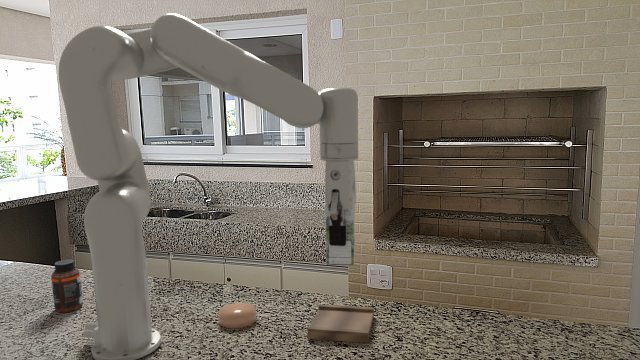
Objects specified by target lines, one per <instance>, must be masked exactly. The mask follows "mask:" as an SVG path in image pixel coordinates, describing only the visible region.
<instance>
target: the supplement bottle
mask: <svg viewBox="0 0 640 360" xmlns="http://www.w3.org/2000/svg"><path fill="white" fill-rule="evenodd" d="M50 279H51V288H52V289H51V290H52V296H53V304H54V305H53V306H54V310H55V311H56V312H57V313H69V312H70V313H71V312H73V311H76V310H78V309H80V308H82V306H83V305H84V302H83V292H82V284H81V282H82V281H81V273H80V270H79V269H78V268H76V267H75V261H74V260H73V259H62V260H59V261H56V262H55V263H54V271H53V272H52V273H51V275H50Z"/></svg>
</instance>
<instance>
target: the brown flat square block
mask: <svg viewBox="0 0 640 360" xmlns="http://www.w3.org/2000/svg"><path fill="white" fill-rule="evenodd" d="M374 309H375V308H374V307H370V306H368V307H367V306H365V307H364V306H352V305H337V304H335V305H334V304H319V305H318V309H317V311H316V314H315V316H314V318H313V319H312V321H311V324H310V326H308V327H307V339H310V340H321V341H335V342H346V343H348V342H349V343H358V344H359V343H360V344H361V343H362V344H368V343H369V340H370V335H371V330H372V327H373V323H374V317H375V316H374V315H375V314H374V313H375V312H374Z"/></svg>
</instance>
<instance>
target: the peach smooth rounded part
mask: <svg viewBox="0 0 640 360" xmlns="http://www.w3.org/2000/svg"><path fill="white" fill-rule="evenodd" d="M218 322H219V323H218V324H219V325H220V326H222V327H223V328H227V329H242V328H247V327H250V326H252V325H253V324H255V322H257V307H256V305H254V304H253V303H247V302H234V303H228V304H226V305H224V306H222V307H221V308H219V309H218Z"/></svg>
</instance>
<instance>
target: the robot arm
mask: <svg viewBox="0 0 640 360" xmlns="http://www.w3.org/2000/svg"><path fill="white" fill-rule="evenodd" d="M178 68H180V69H181V70H183V71H184V72H187V73H188V74H190V75H192V76H195V77H196V78H198V79H199V80H202V81H204V82H206V84H207V83H208V84H209V85H211V86H213V87H214V88H216V89H218V90H220V91H222V92H224V93H226V94H228V95H231V96H233V97H236V98H239V99H242V100H244V101H246V102H248V103H251V104H253V105H254V106H257V107H259V108H260V109H261V110H264V111H267V112H268V113H270V114H271V115H274V116H276V117H277V118H279V119H281V120H282V121H284V122H285V123H286V124H288V125H289V126H292V127H295V128H297V129H308V128H311V127H313V126H316V125H319V158H320V160H321V161H324V162H325V169H324V173H325V174H324V179H325V180H324V182H325V183H324V189H325V192H324V194H325V195H324V196H325V197H324V199H325V200H326V209H327V210H328V211H330V221H329V244H330V245H332V246H345V245H346V225H344V218H345V210H347V211H348V212H349V211H351V210H352V195H353V193H354V205H355V206H356V203H357V190H356V169H355V161H357V160H359V108H358V107H359V103H358V102H359V98H358V97H359V96H358V92H357V91H356V89H354V88H349V87H335V88H332V87H331V88H325V89H322V90H315V89H314V88H313V87H311V86H310V85H308V84H306V83H304V82H303V81H301V80H299V79H297V78H295V77H294V76H292V75H290V74H288V73H286V72H284V71H283V70H281V69H280V68H277V67H276V66H274V65H271V64H270V63H267V62H266V61H264V60H262V59H261V58H259V57H257V56H255V55H254V54H252V53H250V52H248V51H247V50H244V49H243V48H241V47H239V46H237V45H235V44H233V43H232V42H230V41H229V40H226V39H225V38H223V37H221V36H219V35H217V34H216V33H214V32H213V31H211V30H209V29H207V28H205V27H203V25H200V24H198V23H197V22H195V21H193V20H191V19H189V18H187V17H185V16H183V15H181V14H178V13H165V14H163V15H161V16H159V17H157V19H156V20H155V21H154V22H153V24H152V26H151V28H149V29H145V30H140V31H136V32H135V31H134V32H131V33H127V34H126V33H124V32H123V31H121V30H119V29H117V28H114V27H111V26H107V25H96V26H95V25H94V26H92V27H88V28H86V29H84V30H81V31H80V32H78V33H77V34H76V35H75V36H74V37H72V39H70V41H68V43H67V44H66V46H65V47H64V49H63V51H62V52H61V56H60V58H59V62H58V83H59V88H60V93H61V98H62V101H63V105H64V109H65V113H66V114H65V115H66V119H67V124H68V129H69V133H70V137H71V141H72V146H73V150H74V155H75V160H76V163H77V166H78V168H79V170H80V172H81V173H82V174H83V175H84V176H85V177H87V178H89V179H90V180H93V181H96V182H97V185H98V189H99V191H98V192H96V193H95V194H94V195H93V196H92V197H91V198H90V200H89V201H88V202H87V205H86V206H85V210H84V215H83V222H84V230H85V233H86V238H87V242H88V246H89V252H90V260H91V268H92V276H93V278H92V279H93V286H94V299H95V306H96V319H97V320H96V321H97V322H92V321H91V322H87V323H86V325H85V326H84V327H85V330H84V331H83V333H82V336H83V337H84V338H93V340H94V343H93V344H92V346H91V347H90V348H91V350H90V352H91V356H92V358H93V359H94V360H138V359H141V358H144V357H146V356H148V355H150V354H151V353H153V352H154V351H156V350H157V349H158V348H159V346H161V343H162V336H161V333H160V332H159V331H158V330H157V329H154V328H153V326H152V325H153V324H152V312H151V304H150V303H151V302H150V301H151V300H150V287H149V277H148V263H147V253H146V251H147V250H146V246H145V240H144V234H143V225H142V223H143V221H144V220H145V219H147V216H148V215H149V212H150V210H151V206H152V205H151V204H152V199H151V192H150V187H149V183H148V178H147V174H146V169H145V165H144V164H145V163H144V160H143V155H142V151H141V148H140V146H139V143H138V142H137V140H136V138H135V137H134V136H133V135H132V134H131V133H130V132H128V131H127V130H125V129H123V128H122V123H121V119H120V114H119V109H118V105H117V101H116V99H115V94H114V92H113V88H112V80H113V79H115V80H122V81H123V80H132V79H137V78H142V77H145V76H149V75H155V74H157V73H162V72H167V71H170V70H174V69H178ZM339 197H340V199H339ZM325 200H324V201H325ZM328 204H330V207H329V205H328ZM338 207H342V210H338ZM329 209H330V210H329ZM338 213H341V216H340V214H338Z"/></svg>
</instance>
